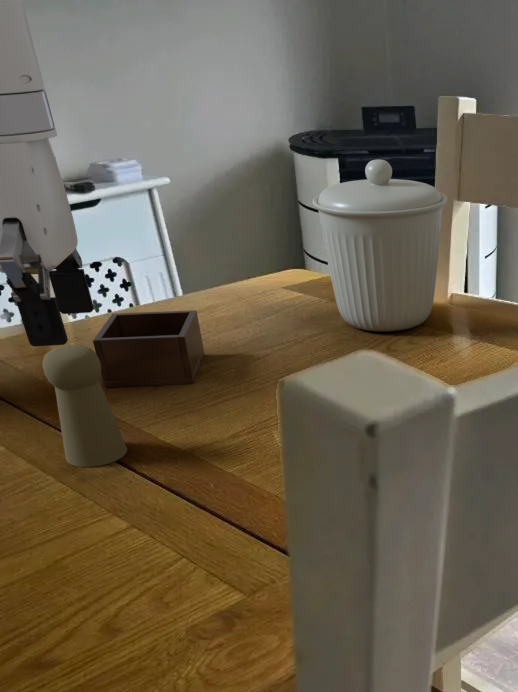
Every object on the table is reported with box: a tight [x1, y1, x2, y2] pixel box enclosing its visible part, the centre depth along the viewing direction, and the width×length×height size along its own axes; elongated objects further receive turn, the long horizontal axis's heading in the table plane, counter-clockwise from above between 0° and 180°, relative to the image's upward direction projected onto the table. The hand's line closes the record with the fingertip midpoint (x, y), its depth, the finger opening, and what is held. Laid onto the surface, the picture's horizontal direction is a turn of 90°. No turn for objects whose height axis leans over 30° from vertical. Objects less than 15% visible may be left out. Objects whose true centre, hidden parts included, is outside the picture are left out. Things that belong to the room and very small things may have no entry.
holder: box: [92, 309, 205, 389], centre depth 103 cm, size 11×11×6 cm
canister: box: [311, 159, 448, 333], centre depth 114 cm, size 18×18×21 cm
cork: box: [42, 344, 128, 468], centre depth 82 cm, size 6×6×11 cm
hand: (64, 327), depth 78 cm, fingers open, 9 cm apart
